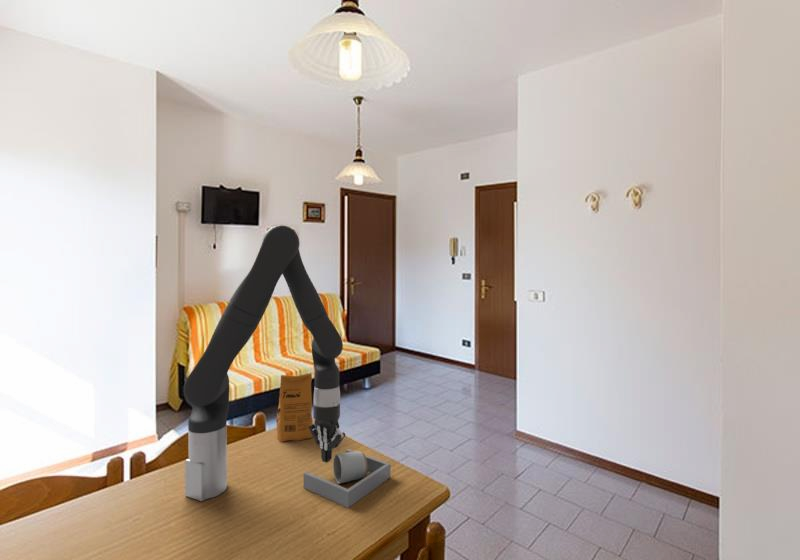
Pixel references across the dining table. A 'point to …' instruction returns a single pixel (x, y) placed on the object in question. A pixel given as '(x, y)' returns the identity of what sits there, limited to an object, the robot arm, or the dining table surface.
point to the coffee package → (294, 408)
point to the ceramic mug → (349, 466)
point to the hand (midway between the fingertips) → (326, 461)
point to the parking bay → (357, 491)
